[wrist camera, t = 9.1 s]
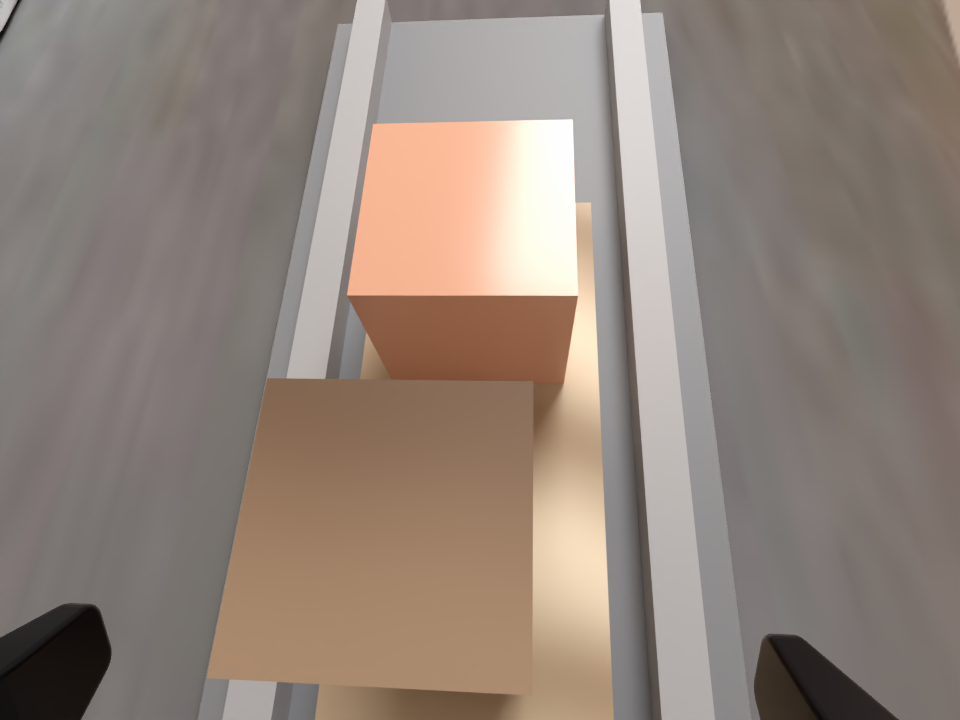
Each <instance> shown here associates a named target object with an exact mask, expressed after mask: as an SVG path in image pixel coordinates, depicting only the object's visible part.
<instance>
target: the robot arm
mask: <svg viewBox="0 0 960 720" xmlns="http://www.w3.org/2000/svg"><path fill="white" fill-rule="evenodd" d="M110 660H111V645H110V641H109V638H108V635H107V631H106V628H105V625H104V621H103V618H102V615H101V612H100V610H99V609H98V608H97V607H96V606H95V605H92V604H79V603H68V604H63V605H61V606H59V607H57V608H55V609H53V610H51V611H49V612H47V613H45V614H44V615H42V616H40V617H38V618H36V619H34V620H32V621H31V622H29V623H27V624H25V625H23V626H21V627H19V628H18V629H16V630H14V631H12V632H10V633H8V634H6V635H4V636H3V637H1V638H0V720H81V719H82V717H83V715H84V713H85V711H86V709H87V707H88V705H89V703H90V701H91V700H92V698H93V696H94V694H95V692H96V690H97V688H98V686H99V684H100V682H101V680H102V678H103V677H104V675H105V673H106V671H107V669H108V666H109V663H110ZM754 694H755V700H756V704H757V708H758V712H759V716H760V719H761V720H899V719H897V718H896V717H895V716H894V715H893V714H891V713H890V712H889V711H888V710H887V709H886V708H884V707H883V706H882V705H881V704H880V703H878V702H877V701H876V700H875V699H874V698H873V697H871V696H870V695H869V694H868V693H867V692H866V691H864V690H863V689H862V688H861V687H860V686H858V685H857V684H856V683H855V682H854V681H853V680H851V679H850V678H849V677H848V676H847V675H845V674H844V673H843V672H842V671H841V670H840V669H838V668H837V667H836V666H835V665H834V664H832V663H831V662H830V661H829V660H828V659H827V658H825V657H824V656H823V655H822V654H821V653H820V652H818V651H817V650H816V649H815V648H814V647H812V646H811V645H810V644H809V643H808V642H807V641H805V640H804V639H803V638H801V637H799V636H796V635H786V634H768V635H766V636H764V638H763V639H762V642H761V647H760V652H759V658H758V663H757V668H756V674H755V679H754Z"/></svg>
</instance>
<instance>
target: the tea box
mask: <svg viewBox="0 0 960 720" xmlns="http://www.w3.org/2000/svg"><path fill="white" fill-rule="evenodd" d="M17 1H18V0H0V32H1V31H2V29H3V27H4V25H5V24H6V22H7V20H8V18H9V16H10V14H11V12H12V10H13V8H14V7H15V5H16V3H17Z"/></svg>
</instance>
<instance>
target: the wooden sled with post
mask: <svg viewBox="0 0 960 720" xmlns="http://www.w3.org/2000/svg"><path fill="white" fill-rule="evenodd" d="M575 210H576V242H577V275H578V300H577V306H576V312H575V318H574V324H573V330H572V337H571V343H570V349H569V355H568V361H567V367H566V373H565V380H564V384H536V383H533V381H459V380H392V379H391V377H390V375H389V373H388V372H387V370H386V368H385V366H384V364H383V362H382V360H381V358H380V356H379V355H378V353H377V351H376V349H375V347H374V345H373V343H372V341H371V340H370V338H369V336H368V334H367V332H366V338H365V345H364V353H363V360H362V368H361V375H360V379H293V378H267V381H266V386H265V391H264V396H263V401H262V406H261V411H260V416H259V421H258V426H257V431H256V435H255V440H254V445H253V450H252V455H251V460H250V465H249V470H248V475H247V480H246V485H245V490H244V495H243V500H242V505H241V510H240V515H239V520H238V525H237V530H236V534H235V539H234V544H233V549H232V554H231V559H230V564H229V569H228V574H227V579H226V584H225V589H224V594H223V599H222V604H221V609H220V614H219V619H218V624H217V628H216V633H215V638H214V643H213V648H212V653H211V658H210V663H209V668H208V673H207V678H212V679H231V680H250V681H269V682H287V683H306V684H319V691H318V699H317V706H316V714H315V720H614V712H613V690H612V667H611V644H610V622H609V599H608V577H607V554H606V532H605V509H604V487H603V464H602V442H601V419H600V396H599V374H598V351H597V329H596V306H595V284H594V261H593V239H592V216H591V203H575Z"/></svg>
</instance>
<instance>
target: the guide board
mask: <svg viewBox="0 0 960 720" xmlns="http://www.w3.org/2000/svg"><path fill="white" fill-rule="evenodd" d="M569 119H573V145H574V178H575V203H591V216H592V239H593V261H594V284H595V306H596V329H597V351H598V374H599V396H600V419H601V442H602V464H603V487H604V509H605V532H606V554H607V577H608V599H609V622H610V644H611V667H612V690H613V712H614V720H751V712H750V704H749V696H748V688H747V680H746V672H745V664H744V657H743V649H742V641H741V633H740V625H739V617H738V609H737V601H736V593H735V585H734V577H733V569H732V561H731V553H730V545H729V537H728V529H727V522H726V514H725V506H724V498H723V490H722V482H721V474H720V466H719V458H718V450H717V442H716V434H715V426H714V418H713V410H712V402H711V394H710V386H709V379H708V371H707V363H706V355H705V347H704V339H703V331H702V323H701V315H700V307H699V299H698V291H697V283H696V275H695V267H694V259H693V251H692V244H691V236H690V228H689V220H688V212H687V204H686V196H685V188H684V180H683V172H682V164H681V156H680V148H679V140H678V132H677V124H676V116H675V109H674V101H673V93H672V85H671V77H670V69H669V61H668V53H667V45H666V37H665V29H664V21H663V13H641V5H640V0H607V2H606V10H605V15H584V16H556V17H528V18H500V19H472V20H444V21H416V22H392V21H391V16H390V12H389V7H388V3H387V0H357V5H356V10H355V15H354V21H353V24H338V27H337V32H336V37H335V42H334V47H333V52H332V57H331V62H330V67H329V72H328V77H327V82H326V87H325V92H324V97H323V102H322V106H321V111H320V116H319V121H318V126H317V131H316V136H315V141H314V146H313V151H312V156H311V161H310V166H309V171H308V176H307V181H306V186H305V190H304V195H303V200H302V205H301V210H300V215H299V220H298V225H297V230H296V235H295V240H294V245H293V250H292V255H291V260H290V265H289V269H288V274H287V279H286V284H285V289H284V294H283V299H282V304H281V309H280V314H279V319H278V324H277V329H276V334H275V339H274V344H273V348H272V353H271V358H270V363H269V368H268V373H267V378H293V379H360V375H361V368H362V360H363V353H364V345H365V338H366V330H365V328H364V326H363V325H362V323H361V321H360V319H359V317H358V315H357V313H356V311H355V310H354V308H353V306H352V304H351V302H350V300H349V298H348V296H347V292H348V286H349V279H350V272H351V266H352V259H353V253H354V246H355V240H356V233H357V226H358V220H359V213H360V207H361V200H362V194H363V187H364V180H365V174H366V167H367V161H368V154H369V147H370V141H371V134H372V128H373V124H388V123H434V122H479V121H524V120H569ZM267 378H266V381H267ZM265 386H266V383H265ZM264 391H265V388H264ZM263 396H264V393H263ZM262 401H263V398H262ZM261 406H262V403H261ZM260 411H261V408H260ZM259 416H260V413H259ZM258 421H259V418H258ZM257 426H258V423H257ZM256 431H257V427H256ZM255 435H256V432H255ZM254 440H255V437H254ZM253 445H254V442H253ZM252 450H253V447H252ZM251 455H252V452H251ZM250 460H251V457H250ZM249 465H250V462H249ZM248 470H249V467H248ZM247 475H248V472H247ZM246 480H247V477H246ZM245 485H246V482H245ZM244 490H245V487H244ZM243 495H244V492H243ZM242 500H243V497H242ZM241 505H242V502H241ZM240 510H241V506H240ZM239 515H240V511H239ZM238 520H239V516H238ZM237 525H238V521H237ZM236 530H237V526H236ZM235 534H236V531H235ZM234 539H235V536H234ZM233 544H234V541H233ZM232 549H233V546H232ZM231 554H232V551H231ZM230 559H231V556H230ZM229 564H230V561H229ZM228 569H229V566H228ZM227 574H228V571H227ZM226 579H227V576H226ZM225 584H226V581H225ZM224 589H225V585H224ZM223 594H224V590H223ZM222 599H223V595H222ZM221 604H222V600H221ZM220 609H221V605H220ZM219 614H220V610H219ZM218 619H219V615H218ZM217 624H218V620H217ZM216 628H217V625H216ZM215 633H216V630H215ZM214 638H215V635H214ZM213 643H214V640H213ZM212 648H213V645H212ZM211 653H212V650H211ZM210 658H211V655H210ZM209 663H210V660H209ZM208 668H209V664H208ZM207 673H208V669H207ZM318 691H319V684H306V683H287V682H269V681H250V680H231V679H212V678H207V674H206V679H205V684H204V689H203V694H202V699H201V704H200V709H199V714H198V719H197V720H315V714H316V706H317V699H318Z"/></svg>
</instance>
